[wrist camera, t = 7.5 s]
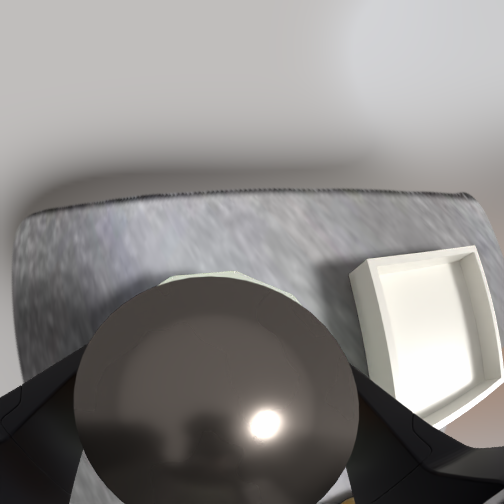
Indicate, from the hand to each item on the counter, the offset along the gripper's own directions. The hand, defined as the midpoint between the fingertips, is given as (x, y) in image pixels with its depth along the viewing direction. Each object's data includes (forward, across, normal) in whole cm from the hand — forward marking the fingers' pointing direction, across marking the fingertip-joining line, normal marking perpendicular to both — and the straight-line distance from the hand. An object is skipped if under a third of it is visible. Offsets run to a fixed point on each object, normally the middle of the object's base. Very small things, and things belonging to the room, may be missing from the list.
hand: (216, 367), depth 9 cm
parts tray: (+7, -17, +5) cm, 19 cm away
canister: (+4, 0, +7) cm, 8 cm away
